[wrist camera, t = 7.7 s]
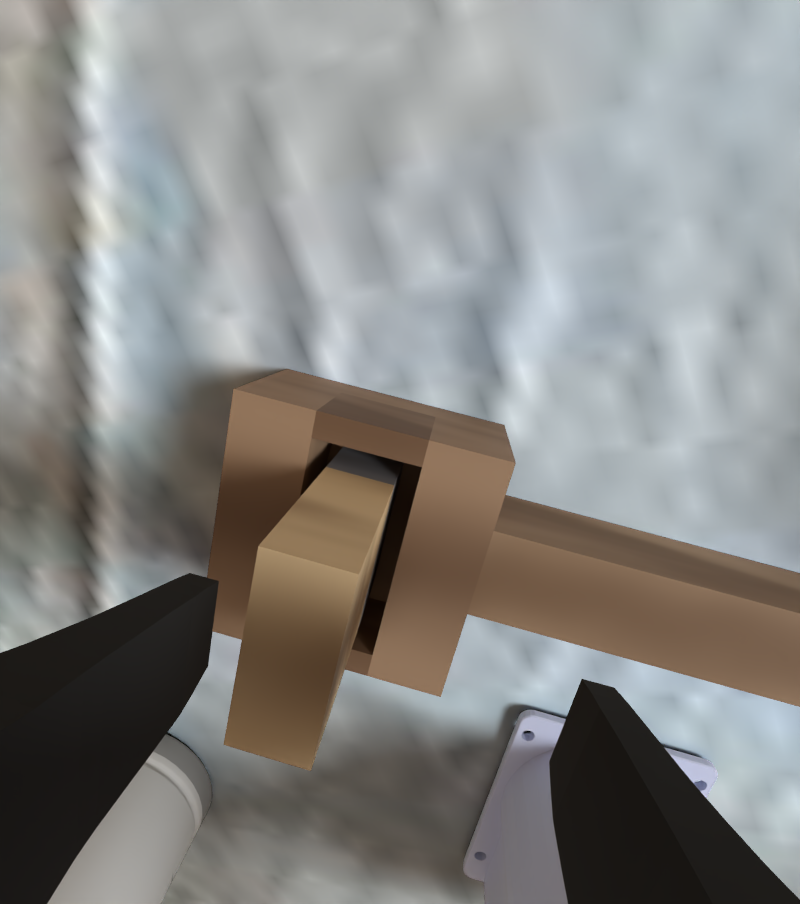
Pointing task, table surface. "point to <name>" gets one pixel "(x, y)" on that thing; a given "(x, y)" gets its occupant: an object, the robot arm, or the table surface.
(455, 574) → the post
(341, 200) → the table surface
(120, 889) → the travel mug
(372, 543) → the tan square peg
